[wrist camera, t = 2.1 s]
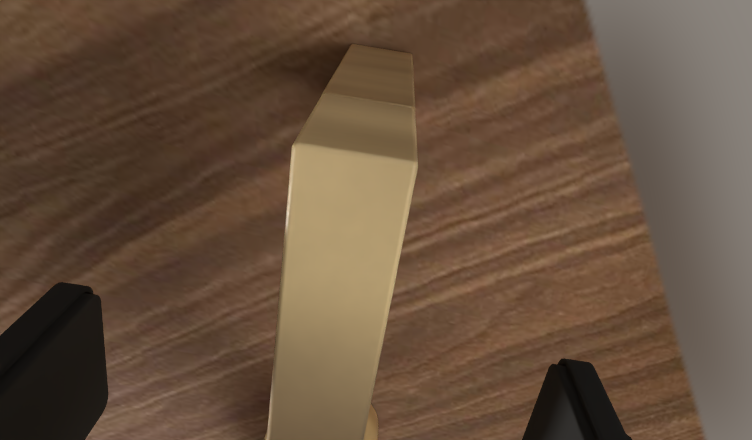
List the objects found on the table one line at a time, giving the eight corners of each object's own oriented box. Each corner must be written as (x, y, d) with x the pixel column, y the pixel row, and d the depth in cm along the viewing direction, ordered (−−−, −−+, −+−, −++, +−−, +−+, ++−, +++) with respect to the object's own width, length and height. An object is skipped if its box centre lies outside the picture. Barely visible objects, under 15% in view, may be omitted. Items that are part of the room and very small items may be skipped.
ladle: (306, 35, 16) (198, 127, 7) (457, 60, 16) (511, 177, 8) (268, 450, 23) (195, 716, 15) (370, 465, 23) (351, 737, 15)
